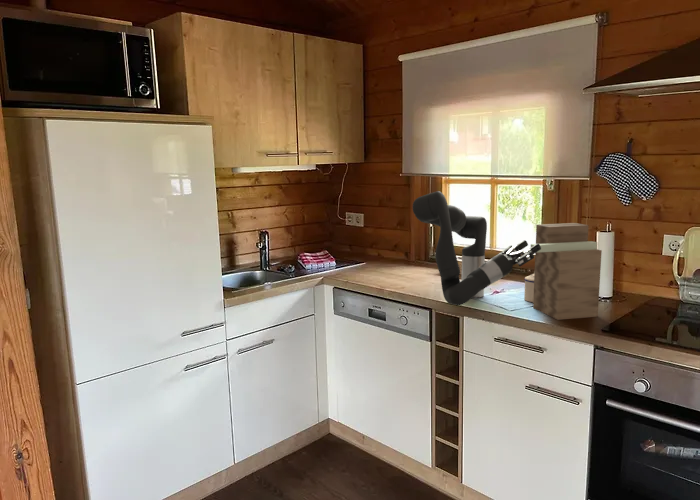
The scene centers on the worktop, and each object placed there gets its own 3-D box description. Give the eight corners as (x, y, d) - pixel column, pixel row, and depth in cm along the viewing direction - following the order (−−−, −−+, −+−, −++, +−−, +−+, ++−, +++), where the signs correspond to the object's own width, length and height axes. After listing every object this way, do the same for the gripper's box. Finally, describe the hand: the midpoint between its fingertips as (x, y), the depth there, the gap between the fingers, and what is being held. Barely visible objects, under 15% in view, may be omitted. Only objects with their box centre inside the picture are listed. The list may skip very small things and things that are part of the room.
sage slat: (530, 251, 187) (530, 244, 187) (591, 248, 191) (592, 241, 191) (534, 252, 184) (535, 245, 184) (596, 249, 188) (597, 242, 188)
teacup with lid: (542, 304, 207) (544, 275, 205) (520, 300, 213) (521, 272, 211) (553, 298, 216) (554, 270, 214) (531, 294, 222) (532, 267, 220)
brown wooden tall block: (533, 307, 202) (536, 224, 197) (570, 305, 205) (575, 222, 200) (557, 319, 187) (561, 229, 182) (597, 316, 190) (603, 227, 185)
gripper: (500, 263, 176) (539, 237, 177) (481, 256, 189) (518, 232, 191) (509, 282, 177) (549, 256, 179) (490, 273, 191) (526, 249, 193)
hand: (532, 244), depth 185 cm, fingers open, 8 cm apart
